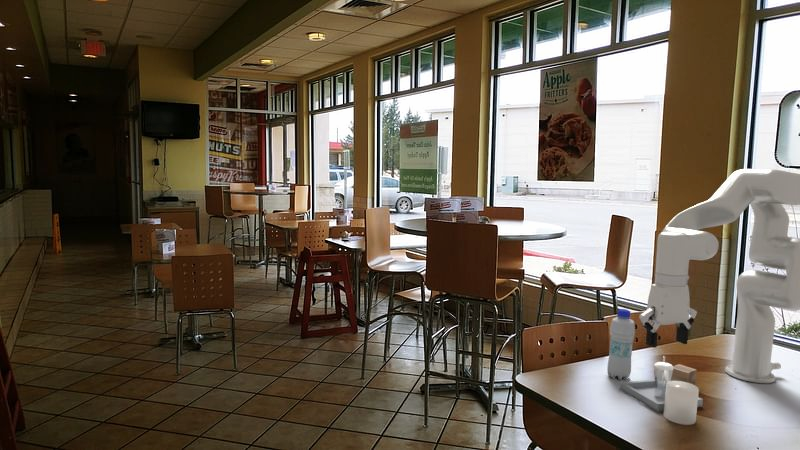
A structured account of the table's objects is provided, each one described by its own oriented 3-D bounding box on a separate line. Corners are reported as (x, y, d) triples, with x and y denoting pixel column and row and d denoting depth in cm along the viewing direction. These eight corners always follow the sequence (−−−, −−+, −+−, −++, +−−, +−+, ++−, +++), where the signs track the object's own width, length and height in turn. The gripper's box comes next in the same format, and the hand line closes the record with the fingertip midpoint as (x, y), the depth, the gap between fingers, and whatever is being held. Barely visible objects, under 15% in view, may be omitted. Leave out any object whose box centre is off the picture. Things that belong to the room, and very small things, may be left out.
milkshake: (670, 393, 148) (673, 357, 147) (670, 401, 144) (674, 363, 142) (651, 390, 150) (655, 354, 149) (651, 397, 145) (654, 360, 144)
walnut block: (677, 380, 160) (678, 364, 159) (694, 386, 156) (696, 369, 155) (668, 384, 157) (670, 367, 156) (686, 390, 153) (688, 373, 152)
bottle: (633, 382, 157) (639, 313, 155) (608, 379, 158) (613, 310, 156) (628, 374, 163) (634, 307, 161) (604, 371, 165) (609, 305, 162)
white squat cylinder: (679, 410, 139) (682, 379, 139) (702, 423, 133) (705, 390, 132) (656, 413, 137) (659, 381, 137) (678, 426, 131) (681, 393, 130)
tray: (661, 385, 155) (662, 378, 155) (702, 406, 142) (702, 399, 142) (619, 389, 151) (620, 382, 151) (657, 411, 138) (657, 404, 138)
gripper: (686, 275, 149) (682, 336, 152) (632, 278, 144) (628, 342, 147) (709, 281, 142) (704, 345, 144) (653, 285, 137) (649, 352, 139)
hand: (666, 344), depth 146 cm, fingers open, 9 cm apart
